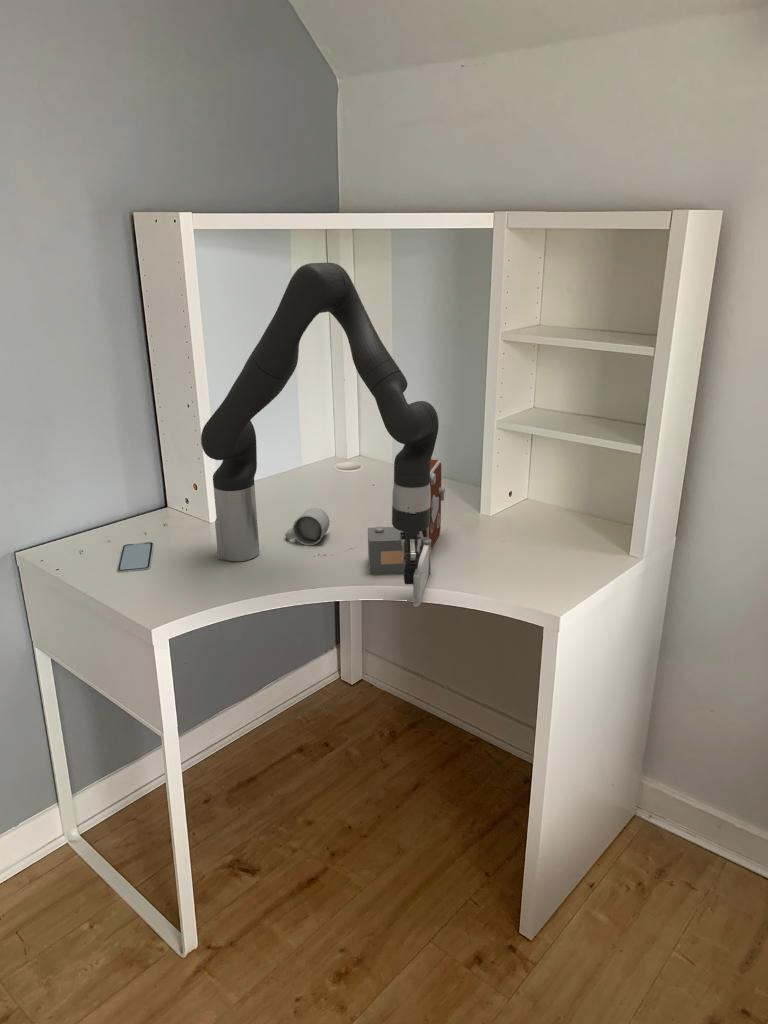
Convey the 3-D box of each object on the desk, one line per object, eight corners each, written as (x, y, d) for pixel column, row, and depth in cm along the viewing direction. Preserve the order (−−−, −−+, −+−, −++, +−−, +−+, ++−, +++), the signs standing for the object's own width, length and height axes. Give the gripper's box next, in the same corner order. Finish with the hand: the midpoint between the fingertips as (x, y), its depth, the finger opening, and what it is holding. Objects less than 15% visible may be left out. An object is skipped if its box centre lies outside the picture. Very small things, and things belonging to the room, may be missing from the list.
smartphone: (116, 571, 177) (122, 544, 191) (116, 575, 178) (123, 548, 191) (150, 568, 179) (154, 541, 192) (150, 572, 179) (154, 545, 193)
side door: (420, 607, 160) (420, 574, 157) (412, 606, 160) (412, 574, 157) (431, 572, 175) (431, 542, 173) (423, 571, 175) (423, 541, 173)
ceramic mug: (331, 533, 198) (330, 504, 195) (323, 546, 190) (322, 516, 187) (290, 532, 199) (288, 503, 197) (281, 544, 192) (278, 515, 189)
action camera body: (370, 578, 173) (369, 541, 170) (368, 559, 182) (367, 524, 179) (432, 576, 174) (432, 539, 171) (427, 557, 183) (427, 522, 180)
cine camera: (449, 526, 201) (451, 450, 194) (433, 557, 184) (434, 475, 176) (414, 523, 203) (414, 448, 196) (395, 553, 186) (394, 472, 179)
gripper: (389, 492, 162) (388, 569, 168) (394, 516, 149) (393, 598, 156) (426, 491, 162) (424, 568, 168) (434, 515, 150) (431, 597, 156)
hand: (409, 582), depth 162 cm, fingers closed
